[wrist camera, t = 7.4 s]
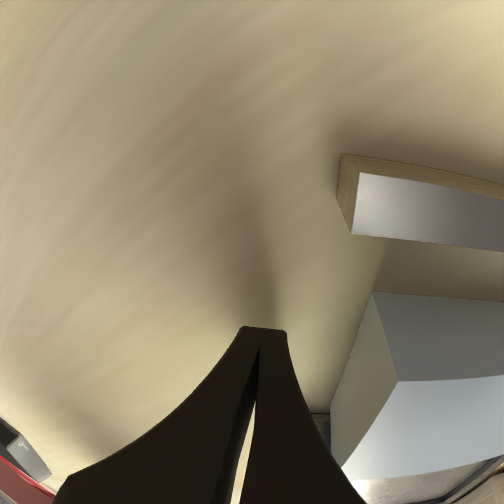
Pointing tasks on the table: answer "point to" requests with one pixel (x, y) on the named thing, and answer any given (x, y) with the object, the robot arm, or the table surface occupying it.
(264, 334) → the robot arm
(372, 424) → the light grey rectangular block
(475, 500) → the skincare box
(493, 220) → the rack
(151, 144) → the table surface
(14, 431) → the external hard drive
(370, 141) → the table surface
